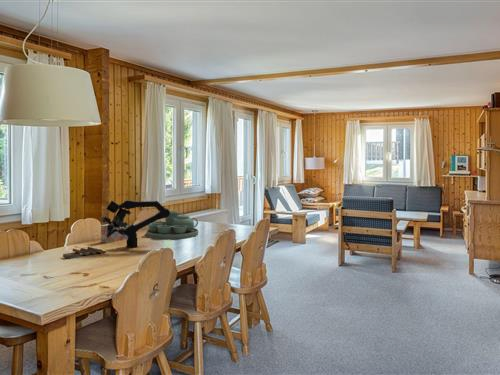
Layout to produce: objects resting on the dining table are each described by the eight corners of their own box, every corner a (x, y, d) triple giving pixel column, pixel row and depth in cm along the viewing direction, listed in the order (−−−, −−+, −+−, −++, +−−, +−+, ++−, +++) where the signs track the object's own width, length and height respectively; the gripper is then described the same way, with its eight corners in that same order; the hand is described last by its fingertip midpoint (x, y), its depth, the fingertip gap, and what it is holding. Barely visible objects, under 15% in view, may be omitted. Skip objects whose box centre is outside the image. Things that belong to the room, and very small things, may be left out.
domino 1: (75, 252, 260) (63, 254, 254) (80, 253, 257) (67, 255, 250) (75, 254, 260) (63, 256, 254) (80, 256, 257) (67, 258, 251)
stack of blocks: (123, 237, 320) (123, 221, 320) (129, 238, 317) (129, 222, 317) (100, 242, 302) (100, 225, 301) (107, 243, 299) (107, 225, 298)
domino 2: (84, 251, 264) (73, 248, 258) (89, 252, 261) (77, 249, 255) (83, 254, 264) (72, 251, 258) (88, 255, 260) (76, 252, 255)
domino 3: (92, 250, 268) (80, 247, 262) (96, 251, 265) (85, 249, 259) (91, 253, 268) (80, 250, 262) (95, 254, 265) (84, 251, 259)
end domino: (78, 254, 261) (65, 256, 255) (82, 255, 258) (70, 257, 252) (78, 256, 261) (65, 259, 255) (82, 258, 258) (70, 260, 252)
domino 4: (98, 249, 272) (87, 246, 266) (103, 250, 268) (92, 247, 262) (98, 251, 271) (87, 249, 265) (102, 253, 268) (91, 250, 262)
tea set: (136, 234, 338) (136, 213, 337) (179, 229, 365) (179, 209, 364) (164, 241, 309) (164, 218, 308) (208, 235, 337) (208, 214, 336)
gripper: (114, 208, 273) (101, 229, 266) (136, 224, 283) (124, 245, 276) (106, 209, 281) (93, 229, 274) (128, 224, 291) (116, 244, 284)
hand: (107, 237), depth 277 cm, fingers closed
